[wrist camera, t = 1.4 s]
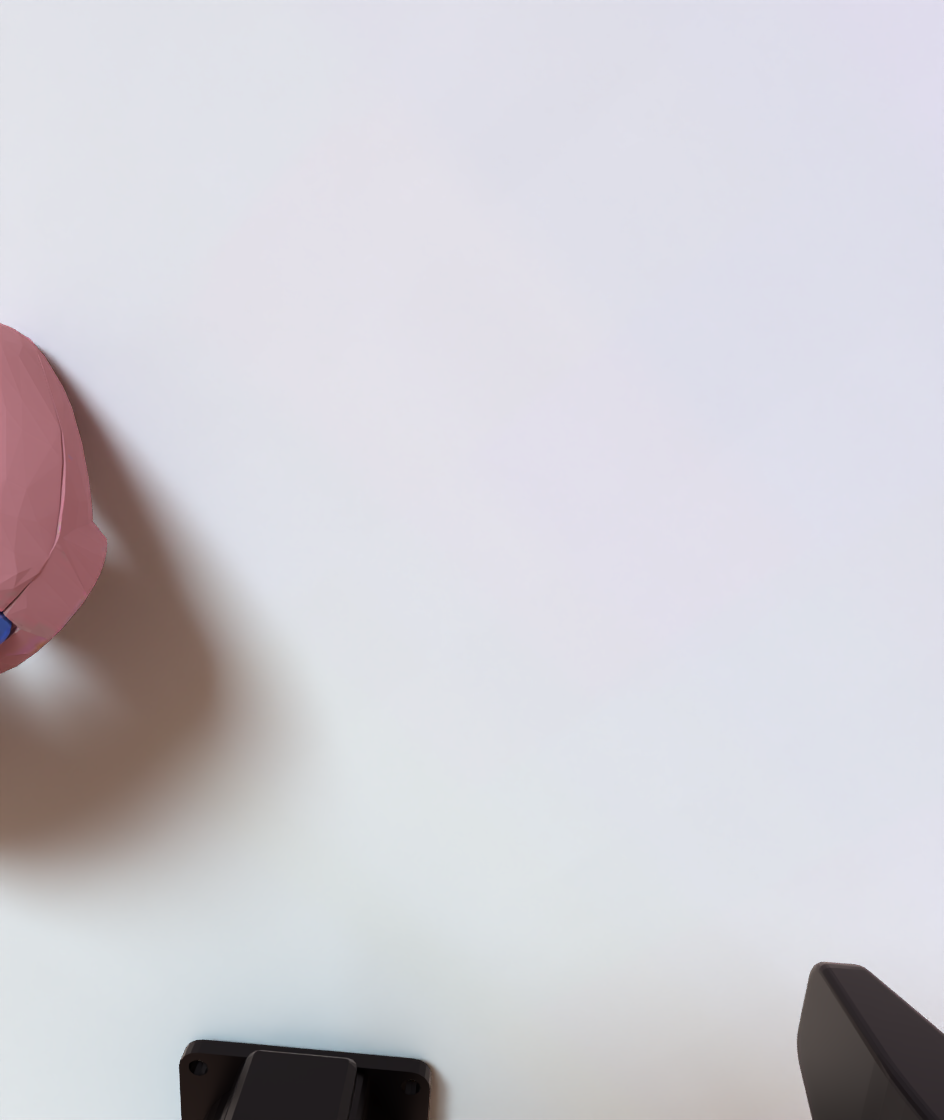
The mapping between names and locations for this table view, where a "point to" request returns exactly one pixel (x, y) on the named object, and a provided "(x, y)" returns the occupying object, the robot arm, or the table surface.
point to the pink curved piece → (40, 505)
